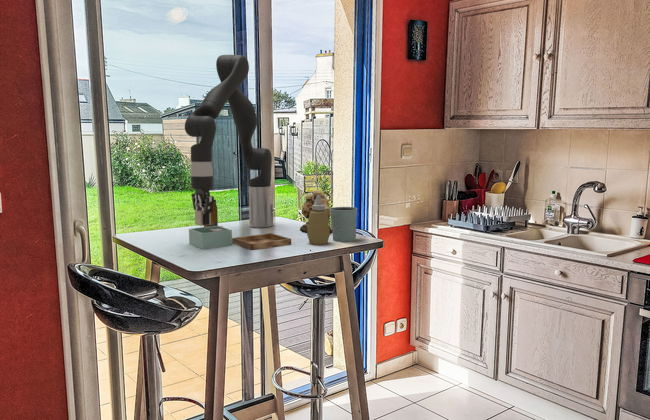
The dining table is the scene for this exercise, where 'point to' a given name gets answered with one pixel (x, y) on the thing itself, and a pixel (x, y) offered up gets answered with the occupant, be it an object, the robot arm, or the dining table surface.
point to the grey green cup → (344, 223)
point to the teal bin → (210, 237)
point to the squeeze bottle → (318, 224)
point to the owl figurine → (308, 207)
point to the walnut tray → (261, 241)
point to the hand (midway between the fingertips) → (203, 223)
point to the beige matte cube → (200, 218)
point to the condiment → (213, 216)
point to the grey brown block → (215, 230)
